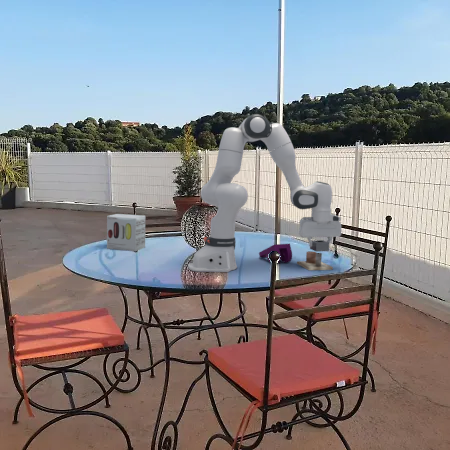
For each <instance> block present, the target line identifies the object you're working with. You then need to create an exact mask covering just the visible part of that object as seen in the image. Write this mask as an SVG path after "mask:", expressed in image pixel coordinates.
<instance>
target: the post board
mask: <svg viewBox="0 0 450 450" xmlns="http://www.w3.org/2000/svg"><path fill="white" fill-rule="evenodd" d="M322 254H323V253H321V252H318V251H317V252H316V251H313V250H312V251H311V250H310V251H306V255H305V256H306V257H305V260H302V261H301V260H299V261H297V262H296V265H298V266H300V267H301V268H304V269H306V270H308V271H331V270H332V271H333V268H334V267H333V266H331V265H329V264H327V263H326V262H323V261H322Z"/></svg>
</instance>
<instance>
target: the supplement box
mask: <svg viewBox="0 0 450 450" xmlns="http://www.w3.org/2000/svg"><path fill="white" fill-rule="evenodd" d="M106 217H107V218H106V250H108V249H109V250H117V251H129V252H138V251H140V250H142V249H145V248H146V215H144V214H142V215H141V214H140V215H137V214H127V213H126V214H125V213H124V214H123V213H115V214H114V213H113V214H110V215H107V216H106Z"/></svg>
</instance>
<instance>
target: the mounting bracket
mask: <svg viewBox="0 0 450 450" xmlns="http://www.w3.org/2000/svg"><path fill="white" fill-rule="evenodd" d="M271 251H277V252H278V253H279V254H280V256H281V257H280V260H279V261H278V263H280V261H281V262H282V263H286V264H287V263H290V262H291V261H292V260H293V251H292V247H291V243H279V244H272V245H270V246H269V247H266V248H265V249H263V250H262V251H259V252H258V254H259V258H261V259H262V257H263V258H267V260H268V262H269V263H270V260H269V258H268V254H269V253H270V252H271Z"/></svg>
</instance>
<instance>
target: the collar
mask: <svg viewBox="0 0 450 450" xmlns="http://www.w3.org/2000/svg"><path fill="white" fill-rule="evenodd" d="M311 241H312V242H313V243H314V247H310V246H309V250H312V251H313V252H317V253H318V252H330V245H329V242H327V240H322V239H316V240H315V239H311Z"/></svg>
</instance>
